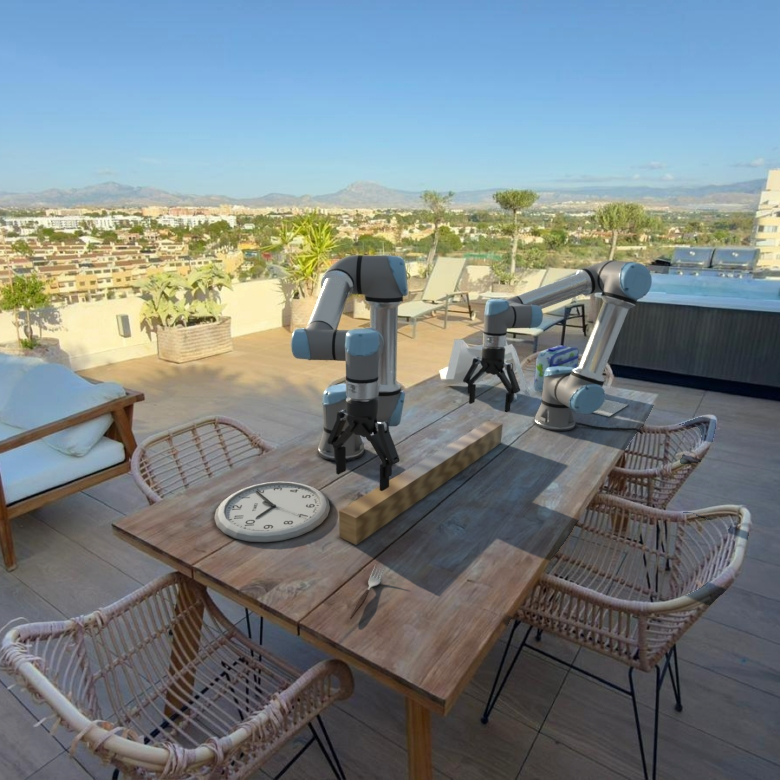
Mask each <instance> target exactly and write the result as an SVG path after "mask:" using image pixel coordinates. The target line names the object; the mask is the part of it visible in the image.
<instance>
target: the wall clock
mask: <svg viewBox="0 0 780 780" xmlns="http://www.w3.org/2000/svg"><path fill="white" fill-rule="evenodd" d="M330 509H331V506H330V501H329V499H328V497H327V496H326V495H325V493H323V492H322V491H320V490H318V488H315V487H313V486H312V485H311V486H310V485H308V484H305V483H300V482H295V481H294V482H292V481H269V482H263V483H262V482H261V483H258V484H253V485H250V486H246V487H244V488H242V489H240V490H238V491H236V492H233V493H232V494H230V495H229V496H227V498H224V500H222V501H221V502H220V504H219V505H218V507H216V509H215V513H214V518H213V519H214V522H215V525H216V527H217V528H218V529H219V530H220V531H221V532H222V533H223V534H225V535H226V536H229V537H231V538H233V539H235V540H236V539H237V540H240V541H245V542H250V543H251V542H252V543H271V542H280V541H285V540H289V539H293V538H297V537H300V536H302V535H304V534H308V532H311V531H313V530H314V529H316V528H317V527H319V526H320V525H322V523H323V522H324V521H325V520H326V519H327V518H328V516H329V513H330Z"/></svg>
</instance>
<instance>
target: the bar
mask: <svg viewBox="0 0 780 780" xmlns="http://www.w3.org/2000/svg"><path fill="white" fill-rule="evenodd" d="M503 426H504V423H502V422H498V421H494V420H489V419H488V420H487V421H485V422H484V423H482V424H480V425H478V426H477V427H475V428H474V429H472V430H470V431H469V432H467V433H465V434H463V435H462V436H461V437H459V438H457V439H456V440H453V441H452V442H450V443H449V444H447V445H446V446H444V447H441V449H438V450H437V451H436V452H434V453H431V455H429V456H427V457H425V458H424V459H422V460H420V461H419V462H417V463H415V464H414V465H412V466H410V467H409V468H407V469H406V470H404V471H402V472H400V473H399V474H397V475H396V476H393V478H390V479H389V487H388V488H387V489H385V490H383V491H380V485H379V486H378V487H376V488H373V489H372V490H370V491H369V492H368V493H366V494H364V495H362V496H361V497H359V498H358V499H356V500H354V501H352V502H351V503H349V504H348V505H345V506H344V507H343V508H340V509H339V510H338V521H339V522H338V527H339V528H338V529H339V531H338V533H339V535H338V536H339V538H340V539H342V540H343V541H344V540H345V541H347V542H349V543H351V544H353V545H355V546H356V545H359V544H360V543H362V542H363V541H364V540H365V539H367V538H368V537H370V536H371V535H373V534H375V533H376V531H378V530H380V529H381V528H382V527H384V526H386V525H387V524H388V523H389V522H391V521H393V520H394V519H395V518H397V517H399V516H400V515H402V514H403V513H404V512H406V511H407V510H408V509H410V508H412V506H414V505H415V504H417V503H418V502H419V501H421V500H423V499H424V498H425V497H427V496H428V495H429V494H431V493H433V492H434V491H435V490H436V489H438V488H439V487H441V486H442V485H444V484H445V483H447V482H448V481H449V480H451V479H452V478H454V477H455V476H457V475H458V474H459V473H461V472H462V471H463V470H465V469H466V468H468V467H469V466H470V465H472V464H473V463H475V462H476V461H478V460H479V459H481V458H482V457H483V456H485V455H487V454H488V453H489V452H491V451H492V450H493V449H495V448H496V447H497V446H499V445H500V444H502V439H503V437H502V436H503Z"/></svg>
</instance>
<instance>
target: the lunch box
mask: <svg viewBox="0 0 780 780" xmlns="http://www.w3.org/2000/svg"><path fill="white" fill-rule="evenodd" d="M579 354H580V351H579V348H577V347H572V346H567V345H566V346H565V345H556V346H553V347H549V348H547V349H544V350H542V351H540V352H539V353H538V355H537V357H536V360H535V369H534V381H533V389H534V391H535V392H539V393H542V392H543V382H544V373H545V370H546V369H547V368H549V367H557V366H562V367H573V368H577V367H578V366H579V357H580V356H579Z"/></svg>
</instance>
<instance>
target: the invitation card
mask: <svg viewBox="0 0 780 780" xmlns="http://www.w3.org/2000/svg"><path fill="white" fill-rule="evenodd" d="M628 406H629V404H627V403H623V402H618V401H614V400H609V399H606V398H605V400H604V403H603V404H602V406H601V407H600V408H599V409H598V410H596V411H594V412H593V413H592V414H596V415H600V416H604V417H608V418H609V417H611V416H613V415H614V414H616V413H617V412H619V411H621V410H623V409H624V408H626V407H628Z"/></svg>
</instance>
